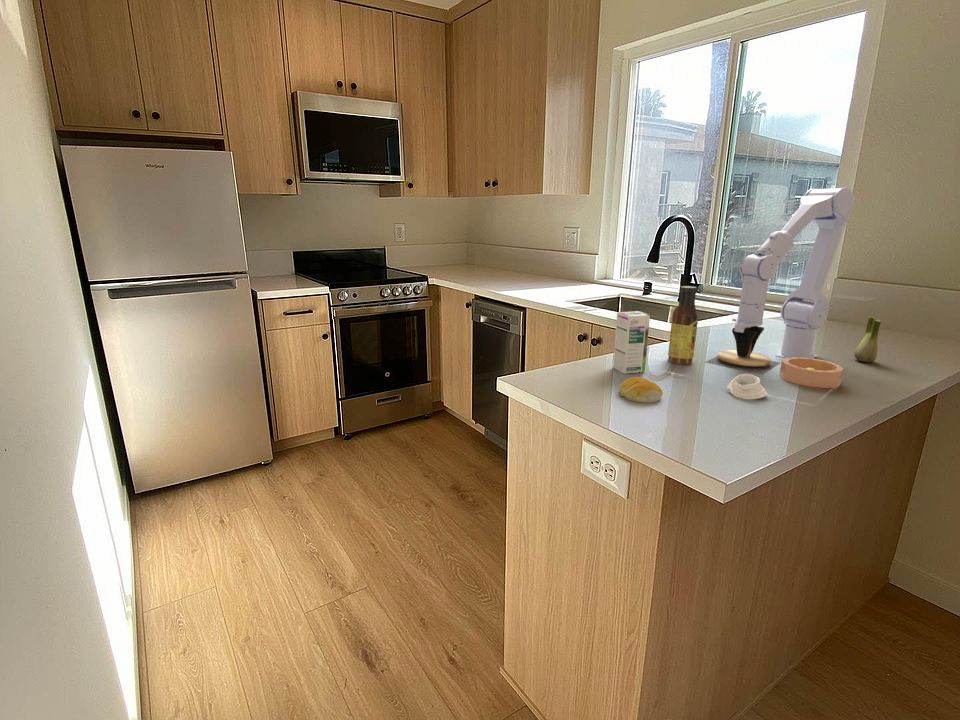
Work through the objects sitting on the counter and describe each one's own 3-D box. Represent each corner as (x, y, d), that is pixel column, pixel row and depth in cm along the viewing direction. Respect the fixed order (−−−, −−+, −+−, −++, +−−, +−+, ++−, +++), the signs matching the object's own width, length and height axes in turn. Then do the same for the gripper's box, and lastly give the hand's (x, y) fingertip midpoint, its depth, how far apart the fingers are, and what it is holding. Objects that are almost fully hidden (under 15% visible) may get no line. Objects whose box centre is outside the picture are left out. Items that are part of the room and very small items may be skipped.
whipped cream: (770, 400, 114) (776, 379, 112) (759, 405, 109) (765, 383, 108) (733, 388, 119) (738, 368, 118) (721, 392, 115) (726, 371, 113)
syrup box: (624, 374, 127) (629, 315, 123) (612, 367, 132) (617, 310, 128) (645, 372, 128) (651, 314, 124) (632, 365, 134) (637, 310, 130)
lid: (727, 350, 145) (729, 334, 144) (777, 359, 137) (780, 343, 135) (709, 359, 136) (711, 342, 135) (761, 369, 128) (764, 352, 127)
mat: (725, 353, 146) (725, 352, 146) (780, 364, 137) (780, 362, 137) (704, 363, 137) (705, 361, 136) (762, 375, 127) (762, 373, 127)
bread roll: (645, 388, 118) (647, 371, 117) (667, 402, 109) (669, 384, 108) (611, 390, 116) (613, 373, 115) (631, 405, 108) (633, 386, 106)
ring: (788, 369, 132) (791, 354, 131) (844, 380, 124) (847, 364, 123) (773, 380, 124) (776, 364, 123) (832, 392, 116) (836, 375, 115)
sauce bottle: (694, 366, 134) (705, 289, 128) (668, 365, 135) (678, 288, 129) (690, 359, 140) (699, 285, 134) (665, 358, 141) (674, 284, 135)
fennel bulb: (873, 365, 137) (883, 320, 134) (850, 361, 140) (860, 317, 137) (876, 360, 141) (887, 317, 138) (855, 357, 144) (864, 314, 141)
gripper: (745, 297, 140) (738, 346, 144) (725, 304, 130) (717, 357, 134) (774, 301, 135) (765, 351, 139) (755, 308, 125) (746, 362, 129)
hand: (744, 354), depth 136 cm, fingers closed on lid, 3 cm apart
